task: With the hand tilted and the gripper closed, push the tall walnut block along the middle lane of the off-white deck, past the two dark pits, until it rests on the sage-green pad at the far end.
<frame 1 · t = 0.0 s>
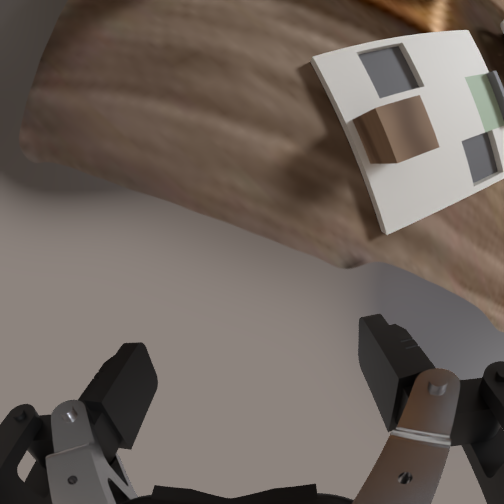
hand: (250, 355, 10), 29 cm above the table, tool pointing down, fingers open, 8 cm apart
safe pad: (480, 102, 32), on the table
block: (381, 134, 33), point 2 cm above the table, touching deck
deck: (434, 116, 33), on the table
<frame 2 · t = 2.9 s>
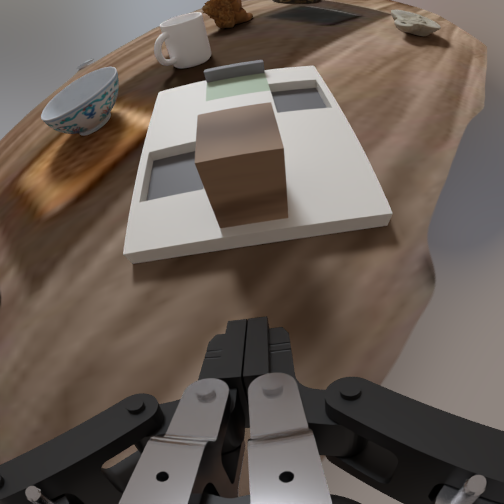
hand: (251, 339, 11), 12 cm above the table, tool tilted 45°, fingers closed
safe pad: (238, 95, 40), on the table
tan round flat piece: (295, 0, 74), on the table
stuffed squirrel: (229, 25, 62), on the table
chinaware: (95, 124, 44), on the table
block: (250, 196, 27), point 2 cm above the table, touching deck
deck: (244, 139, 34), on the table
oil lamp: (411, 34, 53), on the table
mug: (186, 65, 50), on the table
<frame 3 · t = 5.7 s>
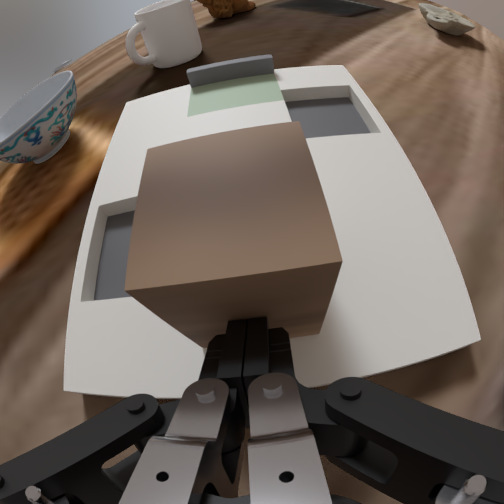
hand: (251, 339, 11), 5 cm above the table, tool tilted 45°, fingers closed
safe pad: (236, 105, 28), on the table
stuffed squirrel: (227, 15, 50), on the table
chinaware: (52, 146, 32), on the table
block: (254, 288, 16), point 2 cm above the table, touching deck, gripper
deck: (245, 183, 22), on the table
oil lamp: (442, 32, 41), on the table
mug: (169, 63, 38), on the table
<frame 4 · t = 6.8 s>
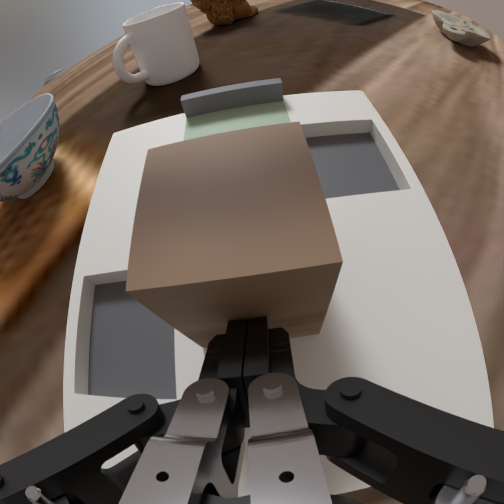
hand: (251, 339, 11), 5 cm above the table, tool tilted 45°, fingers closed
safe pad: (239, 140, 25), on the table
stuffed squirrel: (227, 21, 47), on the table
chinaware: (36, 178, 29), on the table
block: (254, 288, 16), point 2 cm above the table, touching deck
deck: (251, 253, 19), on the table
oil lamp: (457, 42, 38), on the table
mug: (163, 80, 35), on the table
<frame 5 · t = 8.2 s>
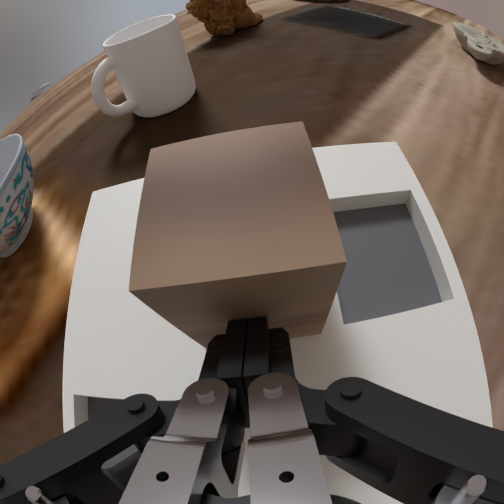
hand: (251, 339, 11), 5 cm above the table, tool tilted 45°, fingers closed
stuffed squirrel: (228, 30, 43), on the table
chinaware: (15, 232, 25), on the table
block: (256, 288, 16), point 2 cm above the table, touching deck
deck: (264, 379, 15), on the table
oil lamp: (479, 59, 34), on the table
mug: (153, 109, 31), on the table
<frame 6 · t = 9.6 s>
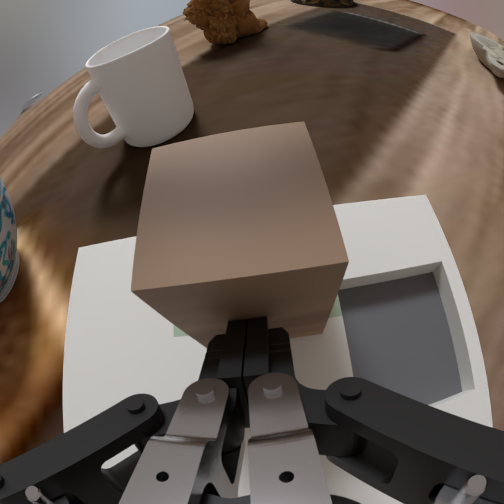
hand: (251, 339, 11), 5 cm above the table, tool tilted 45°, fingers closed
tan round flat piece: (321, 2, 52), on the table
stuffed squirrel: (229, 38, 41), on the table
chinaware: (2, 276, 22), on the table
block: (257, 287, 16), point 2 cm above the table, touching deck, gripper, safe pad
deck: (274, 470, 13), on the table
oil lamp: (496, 74, 31), on the table
mug: (146, 136, 28), on the table
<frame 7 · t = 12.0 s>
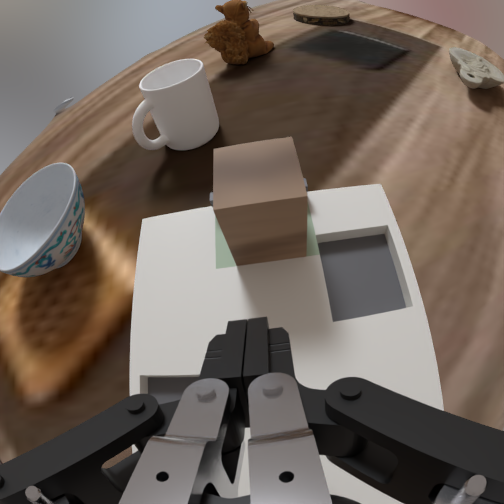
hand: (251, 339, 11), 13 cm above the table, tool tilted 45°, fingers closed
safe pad: (265, 239, 29), on the table
tan round flat piece: (321, 19, 63), on the table
stuffed squirrel: (242, 57, 51), on the table
chinaware: (64, 246, 33), on the table
block: (267, 231, 27), point 2 cm above the table, touching deck, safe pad
deck: (279, 359, 23), on the table
oil lamp: (472, 84, 41), on the table
mug: (183, 142, 39), on the table
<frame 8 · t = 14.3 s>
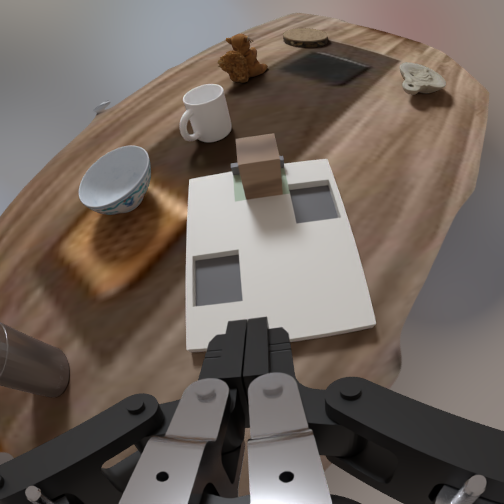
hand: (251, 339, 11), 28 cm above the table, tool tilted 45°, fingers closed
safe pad: (261, 189, 51), on the table
tan round flat piece: (305, 41, 85), on the table
stuffed squirrel: (244, 77, 74), on the table
chinaware: (129, 200, 55), on the table
block: (262, 183, 49), point 2 cm above the table, touching deck, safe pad
deck: (269, 245, 46), on the table
oil lamp: (417, 91, 64), on the table
mug: (208, 137, 61), on the table
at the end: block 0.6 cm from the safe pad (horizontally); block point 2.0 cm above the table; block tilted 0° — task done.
